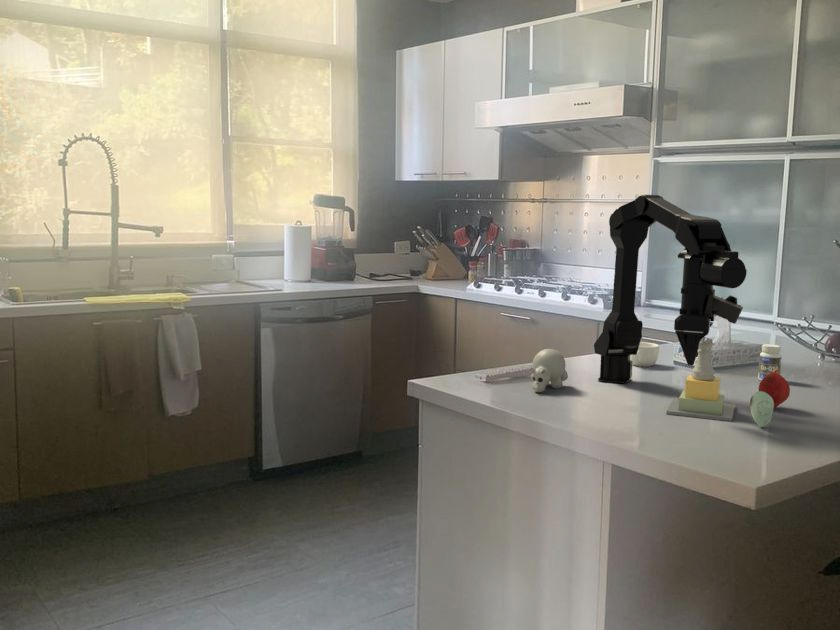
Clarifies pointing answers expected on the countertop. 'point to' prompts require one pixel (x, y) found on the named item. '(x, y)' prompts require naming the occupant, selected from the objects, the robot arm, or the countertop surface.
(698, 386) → the ochre brick
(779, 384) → the onion
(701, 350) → the rook chess piece
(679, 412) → the baseplate
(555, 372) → the cream plastic animal figure
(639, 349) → the teacup
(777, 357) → the pill bottle
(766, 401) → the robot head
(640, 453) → the countertop surface
